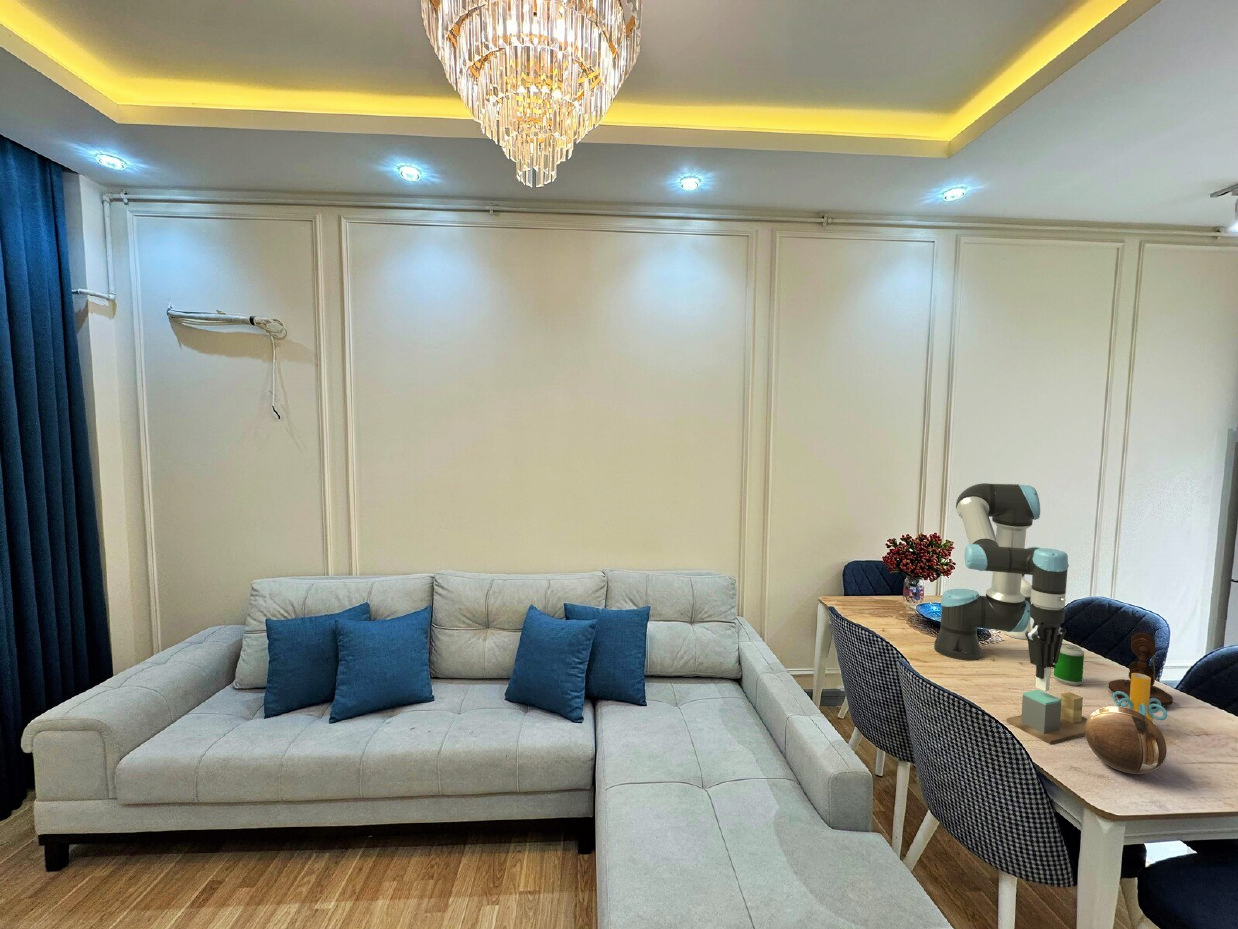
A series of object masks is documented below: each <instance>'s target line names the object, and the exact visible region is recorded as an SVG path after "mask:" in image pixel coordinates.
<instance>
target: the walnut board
mask: <svg viewBox="0 0 1238 929" xmlns="http://www.w3.org/2000/svg"><path fill="white" fill-rule="evenodd" d="M1059 697H1060V698H1059V699H1061V700H1062V702H1061V718H1060V730H1057V731H1053V732H1049V733H1045V734H1043V733H1041V732H1039V731H1037V730H1035V729H1033V728H1031V727H1029V726H1027V725H1025V724H1023V723H1021V717H1022V714H1019V715H1016V716H1012V717H1007V718H1006V723H1008V724H1009V725H1012V726H1014V727H1016V728H1017V729H1019V730H1021V731H1023V732H1025V733H1028V734H1029V735H1031V736H1032V737H1035V738H1037V739H1039V740H1041V741H1043V742H1045V743H1047V744H1049V745H1053V744H1057V743H1061V742H1065V741H1069V740H1073V739H1077V738H1080V737H1084V736H1085V724H1086V721H1087V719H1088V718H1087V717H1085V716H1083V715H1082V714H1083V703H1084V702H1083V701H1084V700H1083V699H1084V697H1083V696H1081V695H1078V694H1076V693H1073V692H1071V691H1067V692H1066V691H1065V692H1061V693H1060V696H1059Z"/></svg>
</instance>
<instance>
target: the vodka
mask: <svg viewBox="0 0 1238 929" xmlns="http://www.w3.org/2000/svg"><path fill="white" fill-rule="evenodd" d="M1025 575H1026V574H1022V580H1021V590H1020V592H1021V593H1022V594H1023V595H1024V597H1025V600H1026V601H1028V603H1029V605H1031V604H1032V602H1031V588H1032V583H1030V582H1028V580H1026V579H1025ZM1029 613H1030V612H1029ZM1031 619H1032V618H1031V617H1030V618H1029V622H1028V625H1027V627H1026V629H1025V630H1024V631H1022V632H1007V631H1003V633H1004V635H1006V636H1008V637H1010V638H1013V639H1018V640H1027V637H1026V635H1025V633H1026V631H1028V632H1031V631H1032V628H1031V625H1032V624H1031Z"/></svg>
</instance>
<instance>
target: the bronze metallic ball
mask: <svg viewBox="0 0 1238 929" xmlns="http://www.w3.org/2000/svg"><path fill="white" fill-rule="evenodd" d="M1085 739H1086V743H1087V744H1088V747H1089V748H1090V749H1091V751H1092V752H1093V753H1094V755H1095V756H1096V757H1097V758H1098V759H1099V760H1100V761H1102V762H1103V763H1104V764H1106V765H1107V766H1110V767H1111V768H1113V769H1115V770H1117V771H1119V772H1123V773H1127V774H1131V775H1143V774H1148V773H1152V772H1154V771H1155V770H1157V769H1159V768H1160V767H1161V766H1162V765H1163V763H1164V762H1165V760H1166V757H1167V752H1168V751H1167V750H1168V748H1167V743H1166V740H1165V737H1164V735H1163V733H1162V731H1161V730H1160V729H1159V727H1158V726H1157V725H1156V724H1155V723H1154V722H1152V721H1151V720H1150V719H1148V718H1147V717H1145V716H1144V715H1142V714H1141V713H1139V712H1137V711H1134V710H1132V709H1129V708H1126V707H1120V706H1117V705H1109V706H1103V707H1100V708H1098V709H1096V710H1094V711H1093V712H1092V713H1091V714H1090V715H1089V716H1088V718H1087V721H1086V724H1085Z"/></svg>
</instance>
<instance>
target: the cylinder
mask: <svg viewBox="0 0 1238 929" xmlns="http://www.w3.org/2000/svg"><path fill="white" fill-rule="evenodd" d="M1150 683H1151V678H1150V677H1149V676H1146V675H1143V674H1139V673H1132V674H1131V685H1130V698H1129V696H1128V695H1127V694H1126V693H1124V692H1121V691H1116V692H1114V693H1113V692H1112V695H1111V696H1112V701H1113V702H1114V703H1115V704H1116V706H1120V707H1125V708H1129V709H1132V710H1134V711H1137V712H1139V713H1141V714H1142V715H1144V716H1145V717H1147V718H1148V719H1150V720H1151V721H1152V722H1153V719H1154V720H1157V721H1165V720H1166V719H1167V718H1168V712H1167V710H1166V709H1165V707H1162V706H1161V702H1160V701H1159V700H1158V699H1156V698H1151V699H1149V697H1150ZM1117 694H1122V695H1124V696H1125V697H1126V698H1124V697H1121V698H1120V699H1118V698H1117ZM1117 699H1118V700H1117ZM1152 701H1156V702H1157V704H1150V703H1151V702H1152ZM1149 704H1150V705H1149ZM1155 707H1156V708H1155ZM1152 708H1155V709H1152ZM1160 709H1161V711H1162V712H1163V713H1162V714H1163V716H1160V717H1159V716H1157V715H1155V714H1156V713H1159V712H1160ZM1153 723H1154V722H1153Z"/></svg>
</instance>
